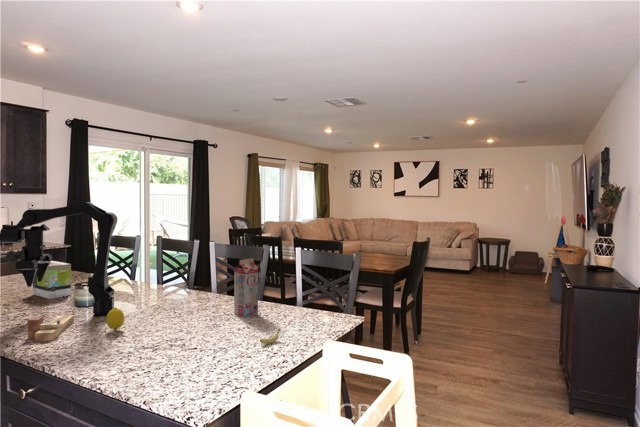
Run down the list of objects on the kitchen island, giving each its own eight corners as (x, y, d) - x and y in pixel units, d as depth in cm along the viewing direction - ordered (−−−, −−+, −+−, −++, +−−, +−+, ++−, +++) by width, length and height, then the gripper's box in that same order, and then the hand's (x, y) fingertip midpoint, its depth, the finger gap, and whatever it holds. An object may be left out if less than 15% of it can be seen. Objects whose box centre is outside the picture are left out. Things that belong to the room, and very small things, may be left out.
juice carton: (257, 314, 170) (258, 259, 169) (244, 317, 165) (244, 261, 164) (247, 310, 174) (248, 257, 173) (234, 314, 169) (234, 259, 168)
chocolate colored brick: (63, 333, 143) (63, 315, 143) (58, 337, 139) (58, 318, 139) (33, 334, 141) (32, 316, 141) (27, 338, 137) (27, 320, 137)
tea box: (72, 295, 195) (71, 263, 194) (48, 299, 186) (48, 266, 185) (55, 290, 203) (55, 260, 202) (31, 294, 194) (31, 262, 194)
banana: (278, 339, 141) (278, 327, 141) (281, 340, 140) (281, 328, 140) (258, 345, 135) (258, 333, 135) (262, 346, 134) (262, 334, 134)
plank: (74, 321, 156) (73, 315, 156) (52, 340, 136) (52, 332, 136) (58, 322, 155) (58, 315, 154) (35, 341, 135) (34, 333, 135)
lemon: (106, 334, 143) (106, 310, 143) (106, 329, 148) (106, 306, 148) (124, 331, 146) (124, 308, 145) (123, 327, 150) (123, 304, 150)
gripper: (20, 240, 166) (21, 279, 167) (-4, 246, 148) (-3, 290, 149) (52, 239, 169) (53, 278, 170) (33, 245, 151) (33, 289, 152)
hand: (34, 284), depth 160 cm, fingers open, 9 cm apart
